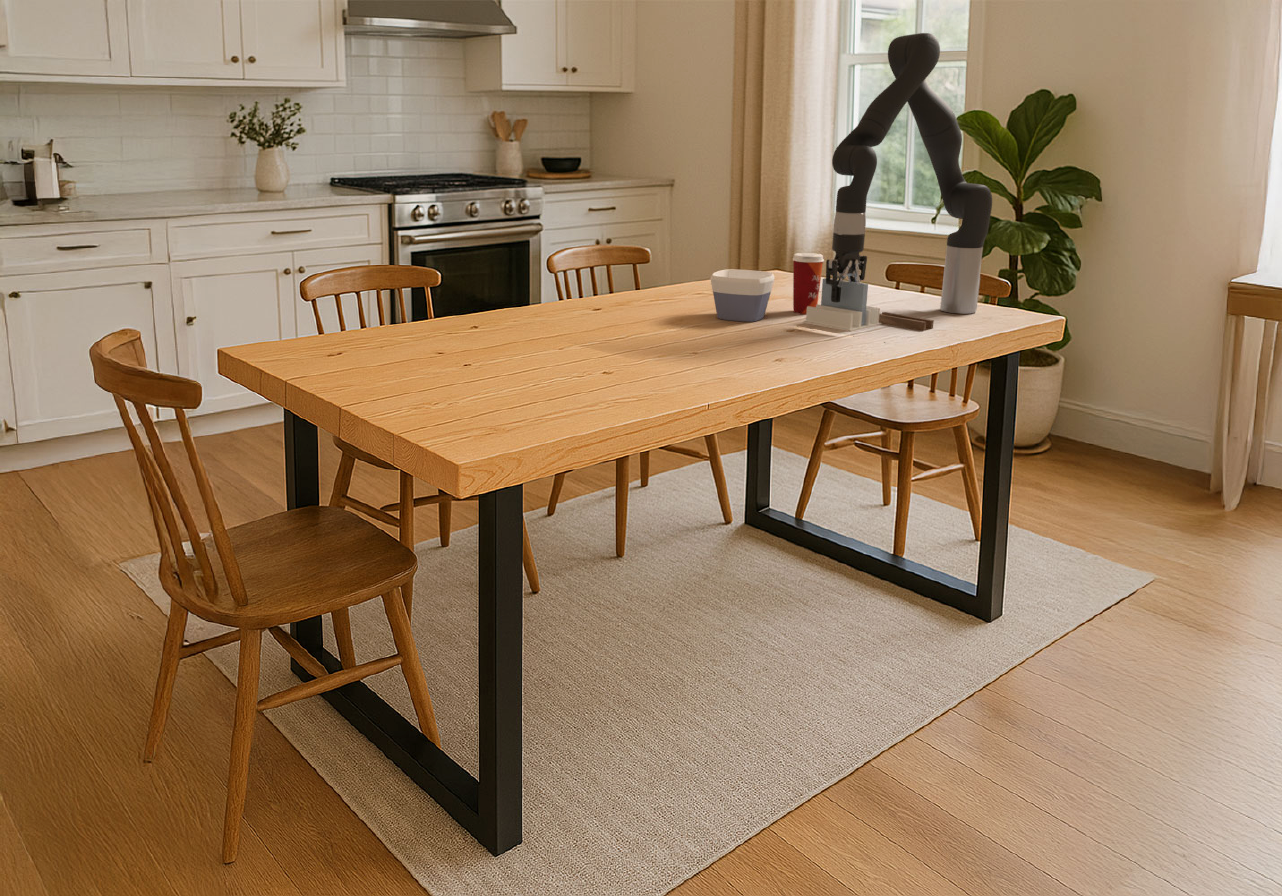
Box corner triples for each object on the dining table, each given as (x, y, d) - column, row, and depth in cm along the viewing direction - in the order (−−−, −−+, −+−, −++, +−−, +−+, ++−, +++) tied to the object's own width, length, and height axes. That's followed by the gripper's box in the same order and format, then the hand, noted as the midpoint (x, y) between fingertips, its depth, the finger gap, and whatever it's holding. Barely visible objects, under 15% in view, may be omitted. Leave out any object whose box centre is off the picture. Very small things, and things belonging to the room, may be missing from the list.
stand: (883, 322, 274) (884, 311, 273) (933, 331, 264) (934, 320, 263) (872, 325, 270) (873, 314, 269) (922, 334, 261) (923, 322, 260)
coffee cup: (819, 315, 281) (823, 257, 277) (787, 313, 283) (791, 256, 278) (821, 309, 289) (825, 253, 284) (790, 308, 291) (793, 251, 286)
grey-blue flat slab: (824, 317, 272) (827, 277, 269) (864, 325, 264) (868, 284, 261) (819, 318, 271) (822, 278, 268) (860, 326, 263) (863, 284, 260)
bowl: (702, 320, 273) (704, 275, 270) (721, 310, 287) (723, 267, 283) (761, 325, 268) (763, 280, 264) (778, 315, 281) (780, 272, 278)
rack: (833, 319, 277) (835, 300, 275) (880, 327, 268) (882, 308, 266) (803, 325, 268) (804, 306, 267) (850, 334, 259) (852, 314, 257)
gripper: (853, 227, 268) (848, 295, 273) (818, 232, 258) (813, 301, 263) (879, 230, 263) (873, 299, 268) (844, 235, 253) (839, 306, 258)
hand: (843, 300), depth 266 cm, fingers open, 6 cm apart
